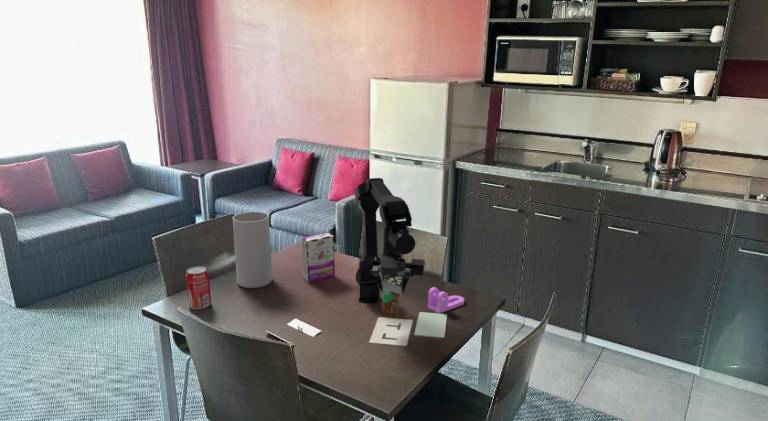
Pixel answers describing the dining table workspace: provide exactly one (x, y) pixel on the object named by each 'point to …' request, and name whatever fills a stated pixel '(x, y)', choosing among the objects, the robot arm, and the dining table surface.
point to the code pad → (391, 331)
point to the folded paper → (302, 328)
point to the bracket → (442, 300)
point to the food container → (392, 294)
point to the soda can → (198, 287)
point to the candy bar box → (318, 257)
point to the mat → (431, 325)
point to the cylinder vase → (252, 249)
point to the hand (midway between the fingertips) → (392, 291)
